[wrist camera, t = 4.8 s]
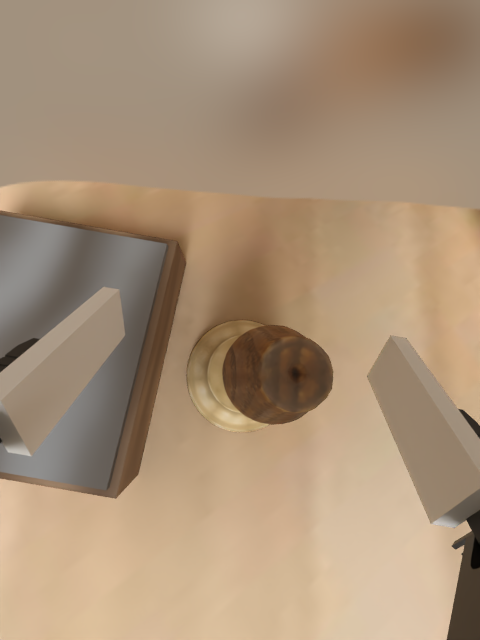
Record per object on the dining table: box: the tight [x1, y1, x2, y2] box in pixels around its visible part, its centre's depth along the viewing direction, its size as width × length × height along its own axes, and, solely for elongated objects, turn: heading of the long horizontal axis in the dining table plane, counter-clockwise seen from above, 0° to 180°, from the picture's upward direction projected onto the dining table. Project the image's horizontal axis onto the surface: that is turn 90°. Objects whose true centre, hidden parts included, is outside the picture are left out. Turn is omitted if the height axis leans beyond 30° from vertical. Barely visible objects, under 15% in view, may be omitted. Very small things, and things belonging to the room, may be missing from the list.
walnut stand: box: [0, 211, 186, 498], centre depth 18 cm, size 14×16×4 cm
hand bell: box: [187, 320, 333, 432], centre depth 12 cm, size 8×8×16 cm
